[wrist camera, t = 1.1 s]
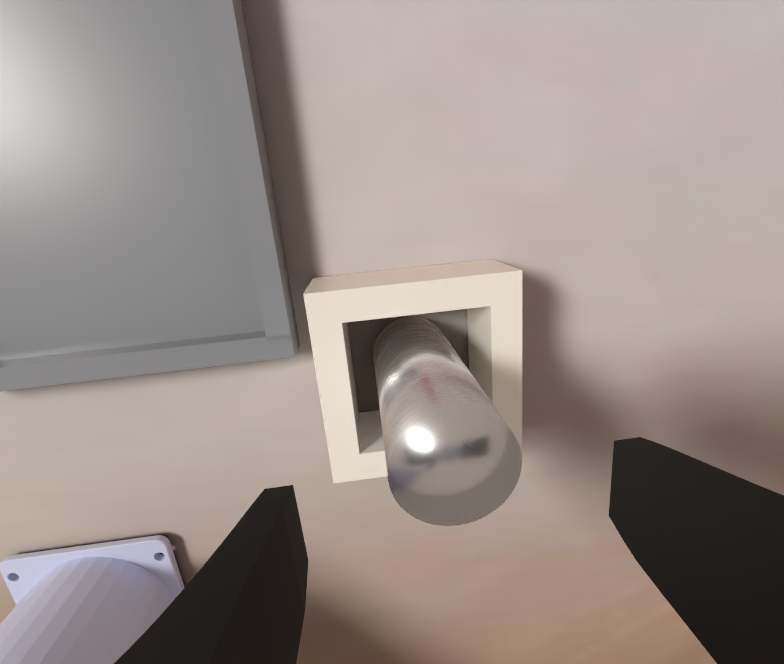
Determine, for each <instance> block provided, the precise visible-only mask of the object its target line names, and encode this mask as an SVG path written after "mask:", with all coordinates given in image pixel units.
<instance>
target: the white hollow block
mask: <svg viewBox="0 0 784 664" xmlns="http://www.w3.org/2000/svg"><path fill="white" fill-rule="evenodd" d="M303 295H304V302H305V308H306V314H307V320H308V326H309V333H310V339H311V345H312V351H313V358H314V364H315V370H316V376H317V383H318V389H319V395H320V401H321V407H322V414H323V420H324V426H325V432H326V439H327V445H328V451H329V457H330V464H331V470H332V476H333V482H334V483H339V482H347V481H354V480H362V479H369V478H377V477H384V476H388V474H387V466H386V457H385V449H384V441H383V433H382V424H381V416H380V410H376V411H368V412H360V413H359V410H358V402H357V395H356V387H355V379H354V372H353V364H352V357H351V349H350V341H349V334H348V326H347V322H354V321H363V320H372V319H380V318H389V317H398V316H407V315H416V314H425V313H434V312H443V311H451V310H460V309H467V321H468V346H469V370H470V372H471V374H472V375H473V377H474V378H475V379H476V381H477V382H478V384H479V385H480V387H481V388H482V389H483V391H484V392H485V394H486V395H487V397H488V398H489V399H490V401H491V402H492V404H493V405H494V406H495V408H496V409H497V411H498V412H499V414H500V415H501V416H502V418H503V419H504V421H505V422H506V424H507V425H508V426H509V428H510V429H511V431H512V432H513V434H514V435H515V437H516V439H517V441H518V444H519V446H520V450H521V457H522V270H520V269H518V268H515V267H512V266H509V265H507V264H504V263H501V262H499V261H496V260H493V259H486V260H477V261H468V262H458V263H449V264H439V265H430V266H421V267H411V268H402V269H392V270H383V271H374V272H364V273H355V274H345V275H336V276H327V277H317V278H313V279H312V281H311V282H310V284H309V286H308V287H307V289H306V290H305V292H304V294H303Z"/></svg>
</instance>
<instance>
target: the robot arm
mask: <svg viewBox="0 0 784 664" xmlns="http://www.w3.org/2000/svg"><path fill="white" fill-rule="evenodd" d="M609 517H610V518H611V520H612V522H613V523H614V525H615V527H616V528H617V530H618V532H619V534H620V535H621V537H622V539H623V540H624V542H625V543H626V545H627V547H628V548H629V550H630V551H631V553H632V554H633V556H634V558H635V559H636V561H637V562H638V563H639V565H640V566H641V567H642V568H643V570H644V571H645V572H646V574H647V575H648V576H649V578H650V579H651V580H652V581H653V583H654V584H655V585H656V587H657V588H658V589H659V590H660V592H661V593H662V594H663V596H664V597H665V598H666V599H667V601H668V602H669V603H670V604H671V606H672V607H673V608H674V609H675V611H676V612H677V613H678V615H679V616H680V617H681V618H682V620H683V621H684V622H685V623H686V625H687V626H688V627H689V628H690V630H691V631H692V632H693V634H694V635H695V636H696V637H697V639H698V640H699V641H700V642H701V644H702V645H703V646H704V647H705V649H706V650H707V651H708V652H709V654H710V655H711V656H712V658H713V659H714V660H715V661H716V663H717V664H784V496H783V495H781V494H778V493H776V492H773V491H771V490H768V489H766V488H763V487H761V486H759V485H756V484H754V483H751V482H749V481H747V480H744V479H742V478H739V477H737V476H735V475H732V474H730V473H728V472H725V471H723V470H721V469H718V468H716V467H713V466H711V465H709V464H706V463H704V462H702V461H699V460H697V459H695V458H692V457H690V456H688V455H685V454H683V453H680V452H678V451H676V450H673V449H671V448H668V447H666V446H663V445H661V444H658V443H655V442H653V441H650V440H647V439H644V438H641V437H638V438H631V439H624V440H617V441H614V450H613V464H612V478H611V492H610V507H609ZM160 553H162V554H160ZM163 554H164V555H163ZM307 571H308V557H307V552H306V547H305V542H304V537H303V532H302V527H301V522H300V517H299V512H298V508H297V503H296V498H295V493H294V488H293V485H290V486H283V487H276V488H269V489H264V491H263V492H262V493H261V494H260V495H259V497H258V498H257V499H256V500H255V502H254V503H253V504H252V505H251V507H250V508H249V509H248V510H247V512H246V513H245V514H244V516H243V517H242V518H241V519H240V521H239V522H238V523H237V525H236V526H235V527H234V528H233V530H232V531H231V532H230V534H229V535H228V536H227V537H226V539H225V540H224V541H223V542H222V544H221V545H220V546H219V547H218V549H217V550H216V551H215V552H214V553H213V555H212V556H211V557H210V558H209V560H208V561H207V562H206V563H205V564H204V566H203V567H202V568H201V569H200V571H199V572H198V573H197V574H196V575H195V576H194V578H193V579H192V580H191V581H190V582H189V583H188V585H187V586H186V587H185V588H184V585H183V582H182V578H181V575H180V572H179V569H178V566H177V563H176V559H175V556H174V553H173V550H172V547H171V544H170V541H169V539H168V538H166V537H165V536H162V535H156V536H149V537H141V538H134V539H127V540H120V541H112V542H105V543H98V544H91V545H83V546H76V547H69V548H61V549H54V550H47V551H40V552H32V553H25V554H18V555H11V556H8V557H7V558H5V559H4V560H3V561H2V562H1V563H0V572H1V574H2V576H3V578H4V580H5V582H6V584H7V586H8V588H9V590H10V593H11V595H12V597H13V599H14V601H15V603H16V606H15V607H14V609H13V610H12V611H11V612H10V613H9V615H8V616H7V617H6V618H5V619H4V620H3V622H2V623H1V624H0V664H296V660H297V655H298V649H299V643H300V637H301V631H302V625H303V619H304V613H305V601H306V588H307Z"/></svg>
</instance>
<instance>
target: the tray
mask: <svg viewBox="0 0 784 664" xmlns="http://www.w3.org/2000/svg"><path fill="white" fill-rule="evenodd" d="M299 345H300V344H299V338H298V332H297V326H296V320H295V314H294V308H293V303H292V297H291V291H290V285H289V279H288V273H287V267H286V261H285V255H284V249H283V244H282V238H281V232H280V226H279V220H278V214H277V208H276V202H275V196H274V190H273V185H272V179H271V173H270V167H269V161H268V155H267V149H266V143H265V137H264V131H263V126H262V120H261V114H260V108H259V102H258V96H257V90H256V84H255V78H254V72H253V67H252V61H251V55H250V49H249V43H248V37H247V31H246V25H245V19H244V13H243V8H242V2H241V0H0V391H8V390H17V389H25V388H34V387H42V386H51V385H60V384H68V383H77V382H85V381H94V380H103V379H111V378H120V377H128V376H137V375H145V374H154V373H163V372H171V371H180V370H188V369H197V368H205V367H214V366H223V365H231V364H240V363H248V362H257V361H266V360H274V359H283V358H291V357H295V355H296V353H297V350H298V348H299Z"/></svg>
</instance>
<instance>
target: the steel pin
mask: <svg viewBox="0 0 784 664" xmlns="http://www.w3.org/2000/svg"><path fill="white" fill-rule="evenodd" d="M373 358H374V366H375V375H376V383H377V391H378V399H379V408H380V416H381V424H382V433H383V441H384V449H385V457H386V466H387V474H388V481H389V486H390V489H391V492H392V494H393V496H394V498H395V500H396V501H397V502H398V504H399V505H400V506H401V507H402V508H403V509H404V510H405V511H406V512H407V513H409V514H410V515H411V516H413V517H415V518H417V519H419V520H421V521H424V522H426V523H430V524H434V525H442V526H453V525H461V524H466V523H470V522H473V521H476V520H478V519H480V518H483V517H485V516H486V515H488V514H490V513H491V512H493V511H494V510H496V509H497V508H498V507H499V506H500V505H501V504H503V503H504V501H505V500H506V499H507V498H508V497H509V496H510V494H511V493H512V491H513V490H514V488H515V486H516V484H517V482H518V479H519V476H520V472H521V465H522V457H521V450H520V446H519V444H518V441H517V439H516V437H515V435H514V434H513V432H512V431H511V429H510V428H509V426H508V425H507V424H506V422H505V421H504V419H503V418H502V416H501V415H500V414H499V412H498V411H497V409H496V408H495V406H494V405H493V404H492V402H491V401H490V399H489V398H488V397H487V395H486V394H485V392H484V391H483V389H482V388H481V387H480V385H479V384H478V382H477V381H476V379H475V378H474V377H473V375H472V374H471V372H470V371H469V369H468V368H467V367H466V365H465V364H464V362H463V361H462V360H461V358H460V357H459V355H458V354H457V352H456V351H455V350H454V348H453V347H452V345H451V344H450V342H449V341H448V340H447V338H446V337H445V335H444V334H443V332H442V331H441V330H440V329H439V327H438V326H436V325H435V324H434V323H433V322H431V321H429V320H427V319H425V318H422V317H416V316H408V317H402V318H399V319H396V320H394V321H392V322H391V323H389V324H388V325H387V326H385V327H384V328H383V329H382V331H381V332H380V333H379V335H378V337H377V338H376V341H375V344H374V349H373Z"/></svg>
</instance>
